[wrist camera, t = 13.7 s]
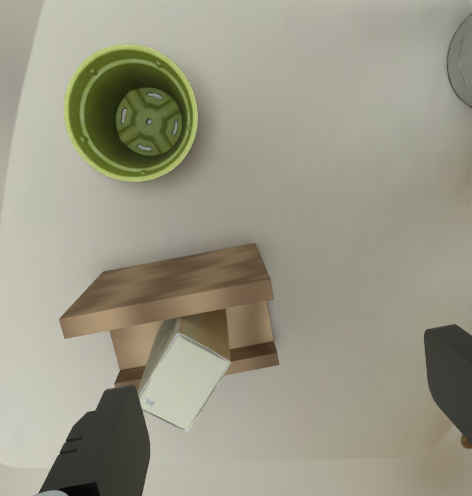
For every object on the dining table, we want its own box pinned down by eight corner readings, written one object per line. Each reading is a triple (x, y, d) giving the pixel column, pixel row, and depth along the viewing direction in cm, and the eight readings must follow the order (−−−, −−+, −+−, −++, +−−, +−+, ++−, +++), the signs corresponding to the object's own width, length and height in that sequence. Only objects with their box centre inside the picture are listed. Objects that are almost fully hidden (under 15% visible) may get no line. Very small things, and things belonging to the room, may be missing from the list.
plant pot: (192, 184, 40) (185, 193, 32) (90, 164, 39) (56, 168, 31) (210, 80, 38) (209, 60, 30) (104, 57, 37) (71, 29, 29)
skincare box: (194, 355, 41) (185, 438, 29) (154, 334, 41) (129, 410, 29) (228, 300, 40) (234, 363, 28) (188, 278, 40) (176, 332, 28)
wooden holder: (254, 243, 42) (270, 279, 30) (272, 341, 44) (292, 409, 32) (102, 272, 42) (58, 319, 30) (128, 368, 44) (96, 447, 32)
